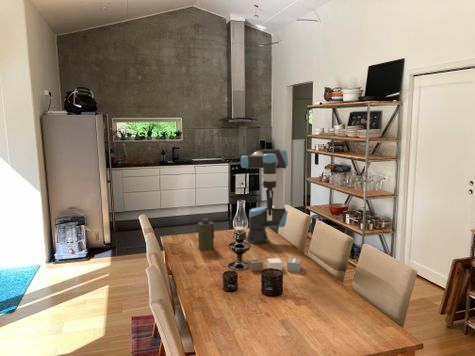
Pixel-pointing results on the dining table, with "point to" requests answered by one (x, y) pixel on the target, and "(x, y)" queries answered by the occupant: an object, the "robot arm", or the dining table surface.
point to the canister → (206, 234)
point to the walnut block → (255, 264)
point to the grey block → (294, 264)
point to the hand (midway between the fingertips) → (269, 220)
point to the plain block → (274, 263)
